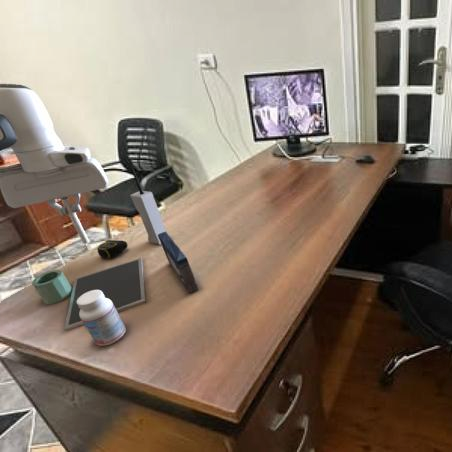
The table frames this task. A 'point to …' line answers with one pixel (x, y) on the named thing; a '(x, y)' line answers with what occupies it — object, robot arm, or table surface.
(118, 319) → the pill bottle
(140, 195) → the vintage mobile phone
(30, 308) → the table surface
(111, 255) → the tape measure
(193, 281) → the vhs cassette tape
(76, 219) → the stylus
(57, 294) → the pen cup
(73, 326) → the tablet
